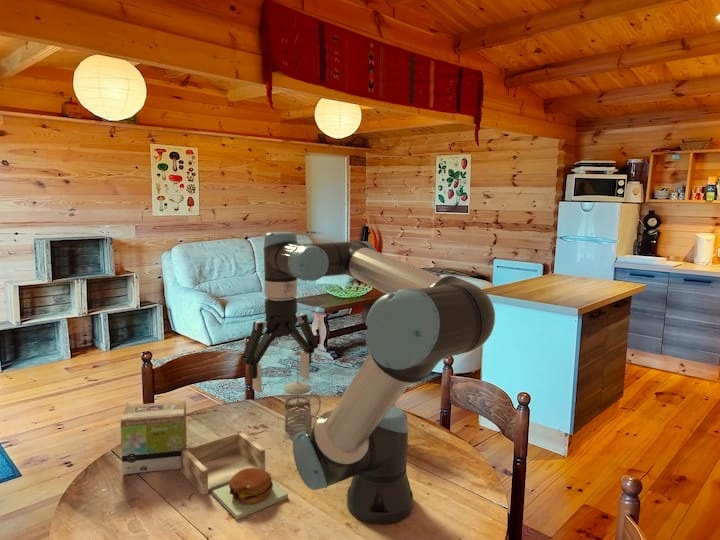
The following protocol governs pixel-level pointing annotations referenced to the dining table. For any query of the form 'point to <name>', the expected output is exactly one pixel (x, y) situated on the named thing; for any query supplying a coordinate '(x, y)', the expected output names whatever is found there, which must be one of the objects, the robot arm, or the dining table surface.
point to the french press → (299, 402)
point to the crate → (220, 460)
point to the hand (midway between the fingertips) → (281, 383)
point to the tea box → (153, 436)
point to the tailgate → (241, 508)
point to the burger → (250, 485)
